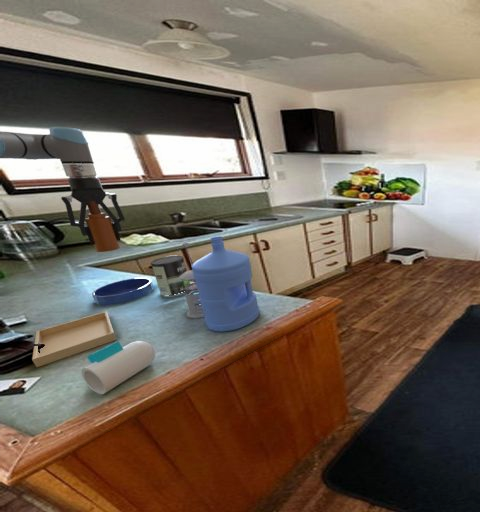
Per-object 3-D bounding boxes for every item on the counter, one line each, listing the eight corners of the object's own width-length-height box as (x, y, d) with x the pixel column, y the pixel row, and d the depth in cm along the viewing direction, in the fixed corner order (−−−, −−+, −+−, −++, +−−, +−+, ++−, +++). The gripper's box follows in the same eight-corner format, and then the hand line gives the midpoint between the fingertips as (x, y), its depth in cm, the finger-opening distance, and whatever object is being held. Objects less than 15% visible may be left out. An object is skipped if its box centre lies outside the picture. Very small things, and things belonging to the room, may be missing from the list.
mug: (146, 327, 68) (85, 358, 58) (166, 356, 70) (110, 392, 59) (123, 335, 73) (62, 366, 62) (142, 363, 75) (86, 398, 64)
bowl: (97, 311, 96) (93, 301, 95) (94, 296, 107) (90, 287, 106) (158, 294, 108) (155, 285, 107) (149, 282, 119) (146, 274, 118)
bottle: (97, 253, 97) (78, 202, 91) (95, 249, 101) (77, 201, 95) (121, 249, 102) (105, 200, 96) (119, 245, 106) (103, 199, 100)
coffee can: (195, 285, 116) (187, 254, 112) (186, 295, 107) (177, 262, 102) (167, 288, 113) (157, 256, 109) (155, 299, 104) (144, 265, 100)
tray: (36, 367, 70) (32, 359, 69) (39, 338, 82) (36, 331, 81) (116, 339, 80) (113, 332, 79) (109, 317, 92) (106, 310, 92)
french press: (179, 314, 93) (159, 245, 85) (211, 299, 103) (195, 236, 95) (199, 320, 90) (179, 248, 82) (229, 304, 100) (215, 238, 92)
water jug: (197, 335, 82) (172, 246, 72) (219, 309, 96) (200, 233, 87) (252, 330, 84) (234, 243, 75) (265, 305, 98) (251, 230, 89)
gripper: (38, 178, 84) (67, 249, 91) (122, 176, 97) (141, 238, 105) (39, 178, 88) (66, 245, 96) (119, 176, 102) (138, 235, 110)
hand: (105, 241), depth 100 cm, fingers closed on bottle, 6 cm apart
